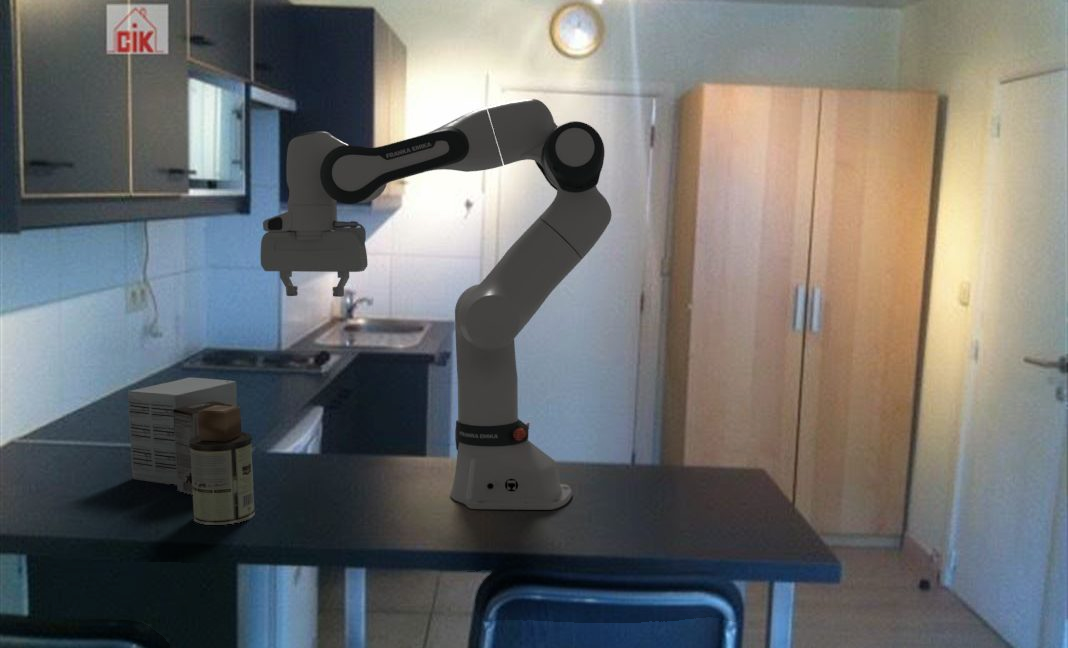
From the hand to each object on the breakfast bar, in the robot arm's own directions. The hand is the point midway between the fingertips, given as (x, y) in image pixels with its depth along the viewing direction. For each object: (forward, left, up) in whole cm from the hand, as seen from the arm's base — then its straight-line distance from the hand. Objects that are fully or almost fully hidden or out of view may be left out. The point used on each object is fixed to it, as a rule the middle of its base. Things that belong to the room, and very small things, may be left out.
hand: (315, 296), depth 179 cm
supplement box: (+33, -6, -37) cm, 50 cm away
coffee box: (+22, +4, -37) cm, 43 cm away
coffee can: (+9, +19, -37) cm, 43 cm away
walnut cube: (+9, +19, -23) cm, 31 cm away
